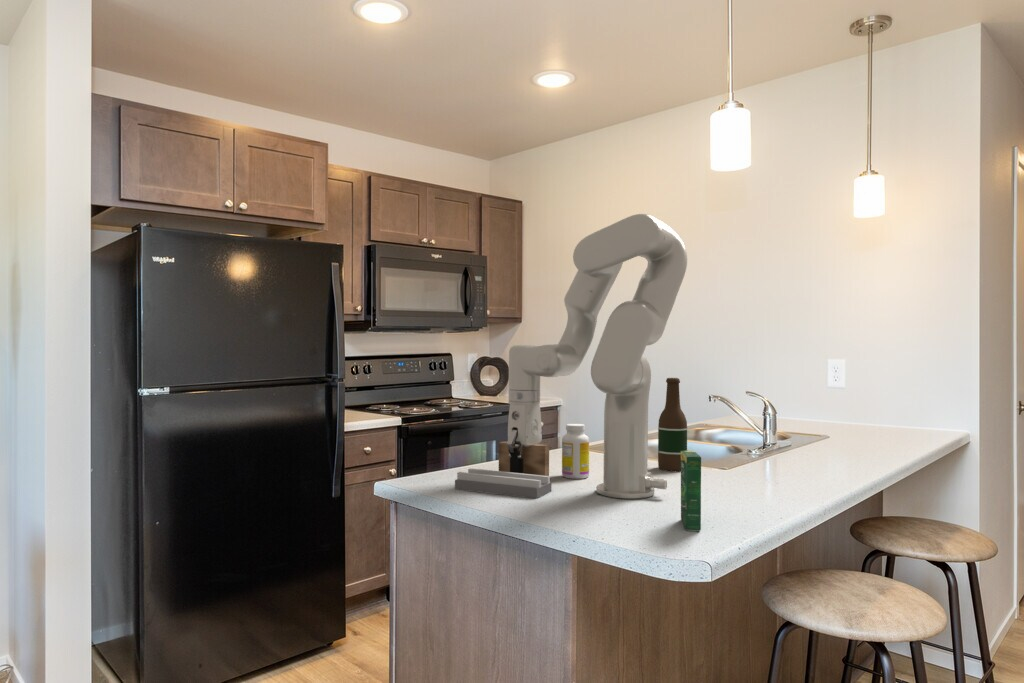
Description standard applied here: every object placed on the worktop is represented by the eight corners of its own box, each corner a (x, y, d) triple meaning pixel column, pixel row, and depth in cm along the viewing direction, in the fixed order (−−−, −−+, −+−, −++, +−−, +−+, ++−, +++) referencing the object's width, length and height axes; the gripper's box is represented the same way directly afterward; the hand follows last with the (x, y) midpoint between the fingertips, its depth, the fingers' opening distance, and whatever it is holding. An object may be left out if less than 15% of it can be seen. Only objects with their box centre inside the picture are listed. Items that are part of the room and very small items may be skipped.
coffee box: (679, 519, 126) (679, 449, 126) (695, 519, 125) (695, 449, 126) (684, 530, 118) (685, 456, 118) (701, 531, 117) (702, 456, 118)
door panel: (548, 483, 158) (549, 444, 158) (544, 485, 156) (545, 446, 156) (503, 478, 163) (503, 441, 163) (498, 480, 161) (498, 442, 161)
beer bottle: (652, 466, 180) (652, 377, 180) (678, 465, 182) (679, 377, 182) (665, 472, 172) (666, 378, 172) (693, 471, 174) (693, 378, 174)
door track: (551, 491, 149) (551, 475, 149) (537, 498, 141) (537, 481, 141) (472, 482, 157) (472, 467, 157) (454, 489, 150) (455, 473, 150)
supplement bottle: (588, 474, 168) (589, 423, 168) (589, 480, 162) (589, 426, 162) (562, 473, 169) (562, 422, 169) (561, 479, 162) (561, 425, 162)
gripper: (523, 400, 150) (522, 480, 150) (552, 395, 166) (552, 467, 166) (493, 399, 153) (492, 477, 153) (525, 394, 169) (524, 465, 169)
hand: (523, 471), depth 159 cm, fingers open, 7 cm apart
